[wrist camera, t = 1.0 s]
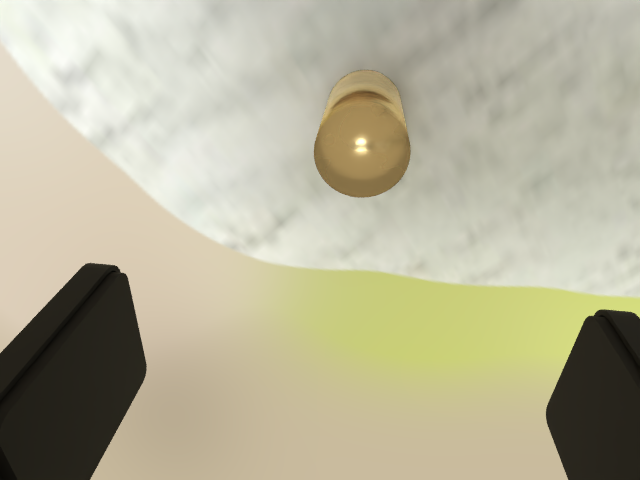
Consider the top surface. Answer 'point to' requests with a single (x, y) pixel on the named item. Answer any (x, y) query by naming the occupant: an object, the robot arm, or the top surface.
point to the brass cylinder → (362, 136)
